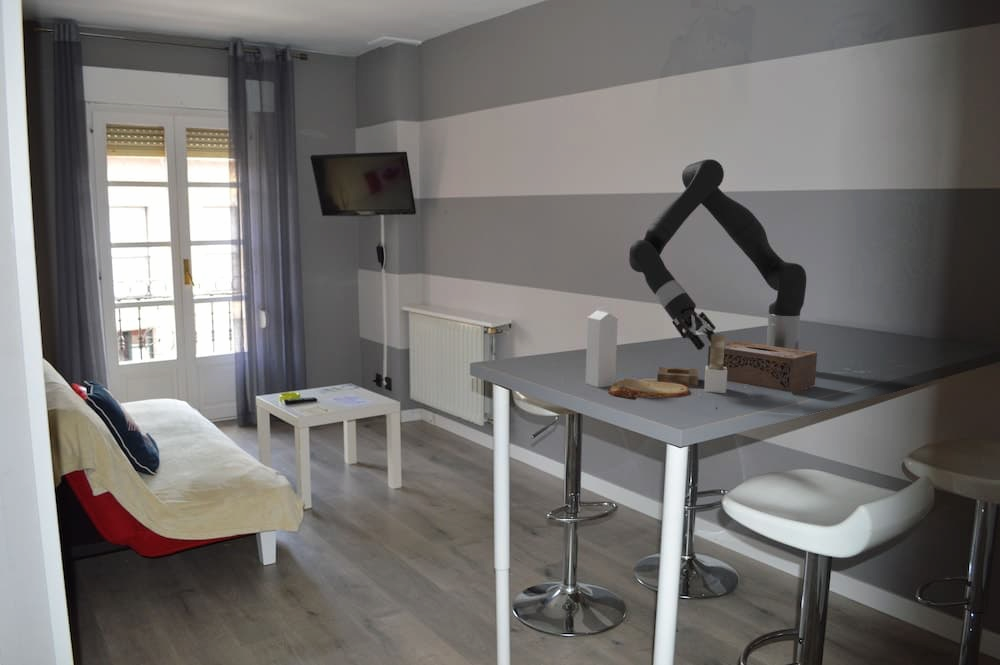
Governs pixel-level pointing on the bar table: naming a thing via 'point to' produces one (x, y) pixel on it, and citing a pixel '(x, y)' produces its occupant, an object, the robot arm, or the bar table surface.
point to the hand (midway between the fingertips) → (710, 346)
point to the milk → (601, 348)
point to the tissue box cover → (769, 366)
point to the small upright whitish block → (715, 380)
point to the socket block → (678, 376)
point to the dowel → (717, 351)
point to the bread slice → (647, 389)
